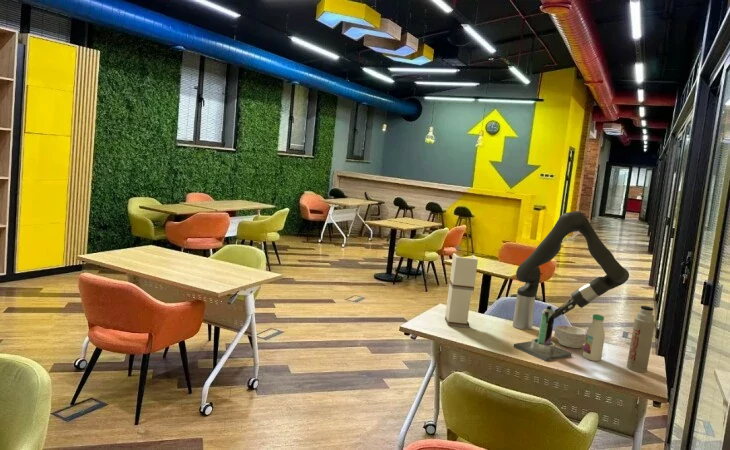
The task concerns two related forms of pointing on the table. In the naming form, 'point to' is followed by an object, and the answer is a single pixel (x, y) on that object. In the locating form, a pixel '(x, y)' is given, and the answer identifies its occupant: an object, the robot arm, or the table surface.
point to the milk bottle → (594, 339)
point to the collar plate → (543, 354)
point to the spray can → (546, 326)
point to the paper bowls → (570, 336)
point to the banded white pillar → (460, 290)
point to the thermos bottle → (641, 340)
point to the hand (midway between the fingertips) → (554, 314)
